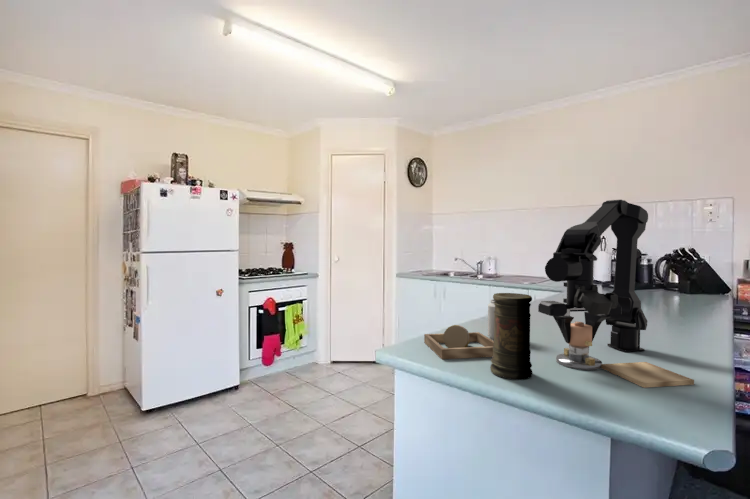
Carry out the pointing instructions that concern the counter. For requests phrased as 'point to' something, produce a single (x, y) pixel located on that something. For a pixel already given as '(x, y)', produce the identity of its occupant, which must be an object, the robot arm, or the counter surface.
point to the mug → (456, 337)
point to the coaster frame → (464, 352)
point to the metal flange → (578, 358)
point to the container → (512, 336)
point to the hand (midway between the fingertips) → (578, 342)
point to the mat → (647, 374)
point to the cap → (581, 334)
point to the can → (491, 319)
